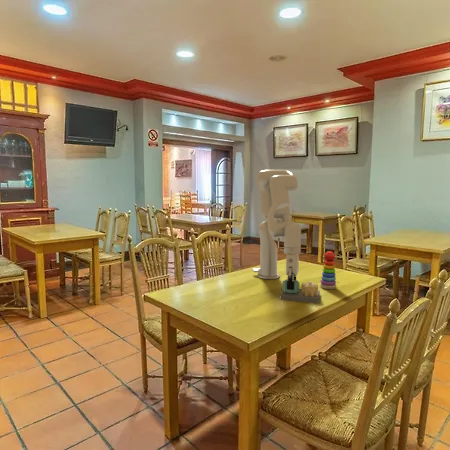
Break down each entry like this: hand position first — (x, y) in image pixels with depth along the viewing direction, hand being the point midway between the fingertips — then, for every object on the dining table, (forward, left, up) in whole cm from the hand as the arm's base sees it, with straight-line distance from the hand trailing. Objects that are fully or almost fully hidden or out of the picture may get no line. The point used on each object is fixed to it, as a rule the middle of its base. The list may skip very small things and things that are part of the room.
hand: (291, 286), depth 165 cm
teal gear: (0, 0, -2) cm, 2 cm away
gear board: (+4, 0, -5) cm, 6 cm away
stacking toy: (+16, +19, -5) cm, 25 cm away
